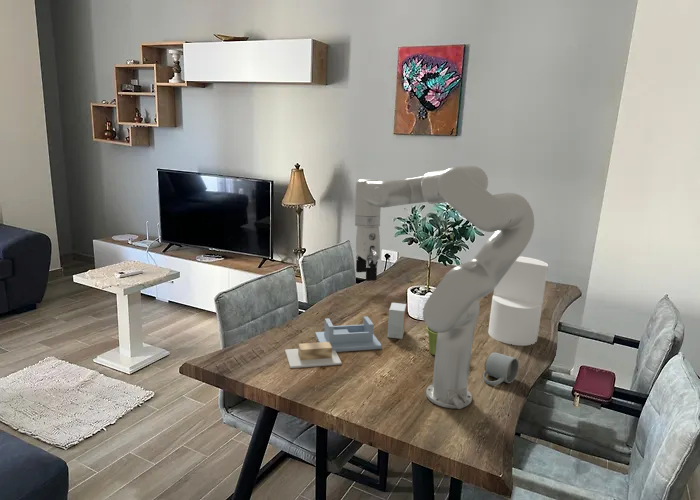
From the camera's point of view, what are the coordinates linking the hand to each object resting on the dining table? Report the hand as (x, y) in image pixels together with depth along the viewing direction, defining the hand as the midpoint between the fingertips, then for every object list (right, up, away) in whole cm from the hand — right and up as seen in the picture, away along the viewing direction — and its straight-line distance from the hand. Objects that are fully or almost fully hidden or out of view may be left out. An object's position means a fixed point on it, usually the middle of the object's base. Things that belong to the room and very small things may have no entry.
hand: (366, 276), depth 157 cm
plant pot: (+25, -27, +14) cm, 39 cm away
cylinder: (+55, -24, +32) cm, 68 cm away
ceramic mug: (+40, -31, -2) cm, 51 cm away
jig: (-6, -24, +19) cm, 31 cm away
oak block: (-16, -26, +6) cm, 31 cm away
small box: (+12, -23, +28) cm, 38 cm away
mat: (-17, -26, +6) cm, 32 cm away
